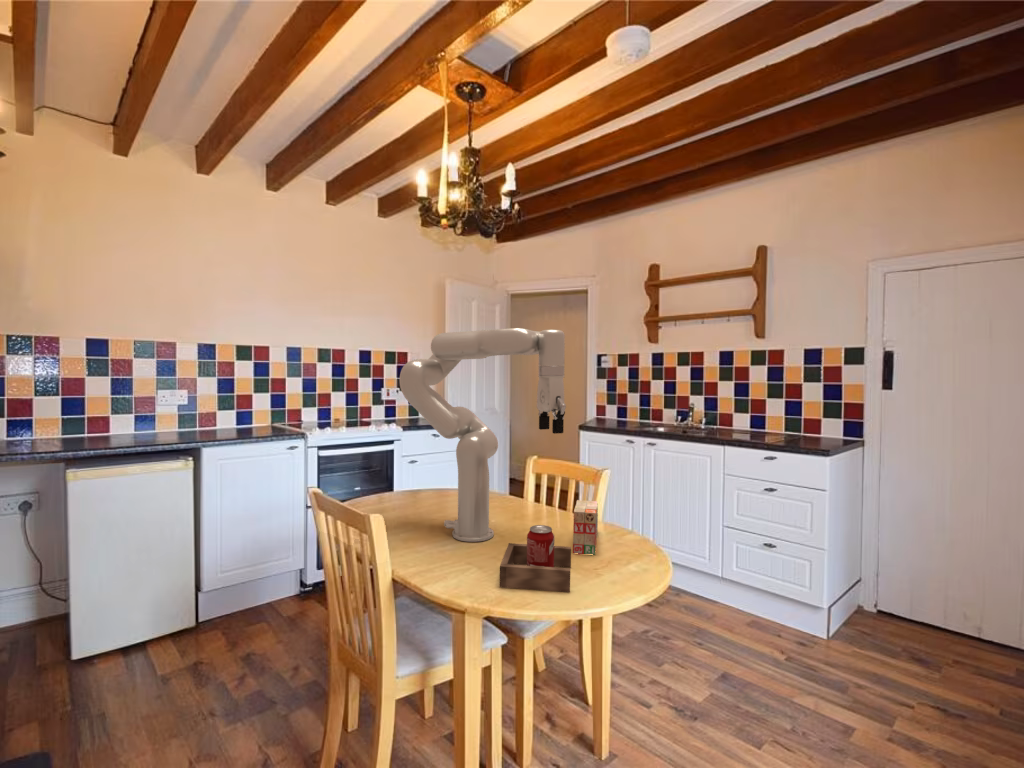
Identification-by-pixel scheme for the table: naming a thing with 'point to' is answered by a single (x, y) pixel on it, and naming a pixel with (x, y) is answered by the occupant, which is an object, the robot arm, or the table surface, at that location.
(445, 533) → the table surface
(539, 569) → the open-side box
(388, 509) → the table surface
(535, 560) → the soda can
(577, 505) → the stack of blocks
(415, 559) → the table surface
